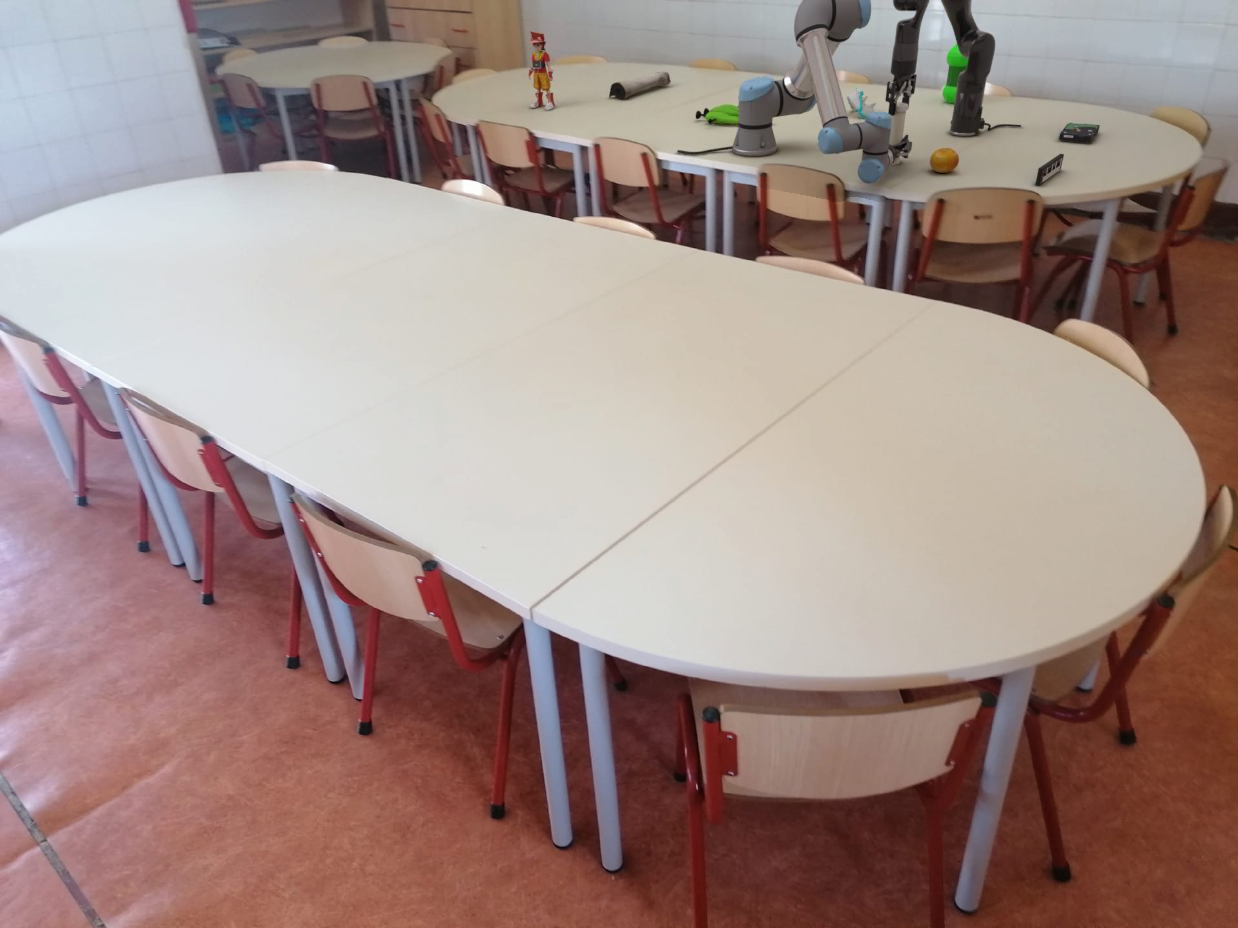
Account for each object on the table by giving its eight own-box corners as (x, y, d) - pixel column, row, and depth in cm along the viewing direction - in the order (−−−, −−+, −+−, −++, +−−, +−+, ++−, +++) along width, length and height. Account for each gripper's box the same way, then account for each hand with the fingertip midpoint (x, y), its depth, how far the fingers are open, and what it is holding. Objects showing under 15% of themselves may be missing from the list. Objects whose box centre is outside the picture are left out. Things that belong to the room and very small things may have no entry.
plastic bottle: (973, 101, 354) (984, 32, 339) (955, 106, 349) (966, 36, 335) (952, 97, 361) (962, 29, 346) (934, 102, 356) (944, 33, 342)
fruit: (924, 163, 281) (941, 140, 278) (925, 165, 289) (941, 143, 286) (946, 178, 280) (963, 155, 277) (947, 180, 288) (963, 158, 285)
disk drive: (1091, 144, 300) (1098, 132, 310) (1093, 136, 299) (1100, 124, 309) (1057, 141, 305) (1066, 130, 315) (1059, 133, 303) (1067, 121, 313)
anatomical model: (842, 87, 348) (867, 80, 347) (844, 114, 354) (869, 107, 353) (853, 96, 336) (879, 89, 335) (855, 124, 342) (881, 117, 341)
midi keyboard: (1039, 185, 269) (1043, 168, 266) (1035, 184, 270) (1038, 168, 267) (1060, 170, 279) (1064, 154, 277) (1056, 169, 280) (1060, 153, 277)
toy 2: (685, 123, 344) (756, 136, 332) (687, 109, 342) (758, 121, 329) (718, 112, 365) (786, 123, 352) (719, 98, 362) (788, 110, 350)
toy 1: (525, 109, 381) (517, 32, 364) (534, 104, 388) (527, 28, 371) (550, 110, 377) (543, 32, 360) (559, 105, 384) (553, 28, 367)
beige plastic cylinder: (891, 160, 298) (898, 105, 288) (902, 162, 295) (909, 107, 285) (882, 162, 296) (889, 107, 286) (893, 165, 293) (900, 110, 283)
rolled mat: (651, 76, 408) (662, 61, 399) (662, 93, 408) (674, 79, 400) (605, 92, 391) (616, 77, 383) (617, 110, 391) (628, 95, 383)
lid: (908, 107, 287) (908, 102, 286) (907, 112, 283) (907, 107, 282) (891, 107, 289) (891, 102, 288) (889, 111, 284) (890, 106, 284)
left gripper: (852, 168, 284) (870, 148, 301) (908, 173, 277) (924, 152, 294) (854, 144, 280) (873, 125, 297) (911, 148, 273) (927, 128, 290)
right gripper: (905, 52, 283) (899, 106, 293) (881, 60, 275) (875, 116, 285) (927, 54, 279) (920, 109, 288) (903, 63, 271) (897, 119, 280)
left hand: (898, 138), depth 296 cm, fingers closed on beige plastic cylinder, 4 cm apart
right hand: (898, 112), depth 286 cm, fingers open, 7 cm apart
